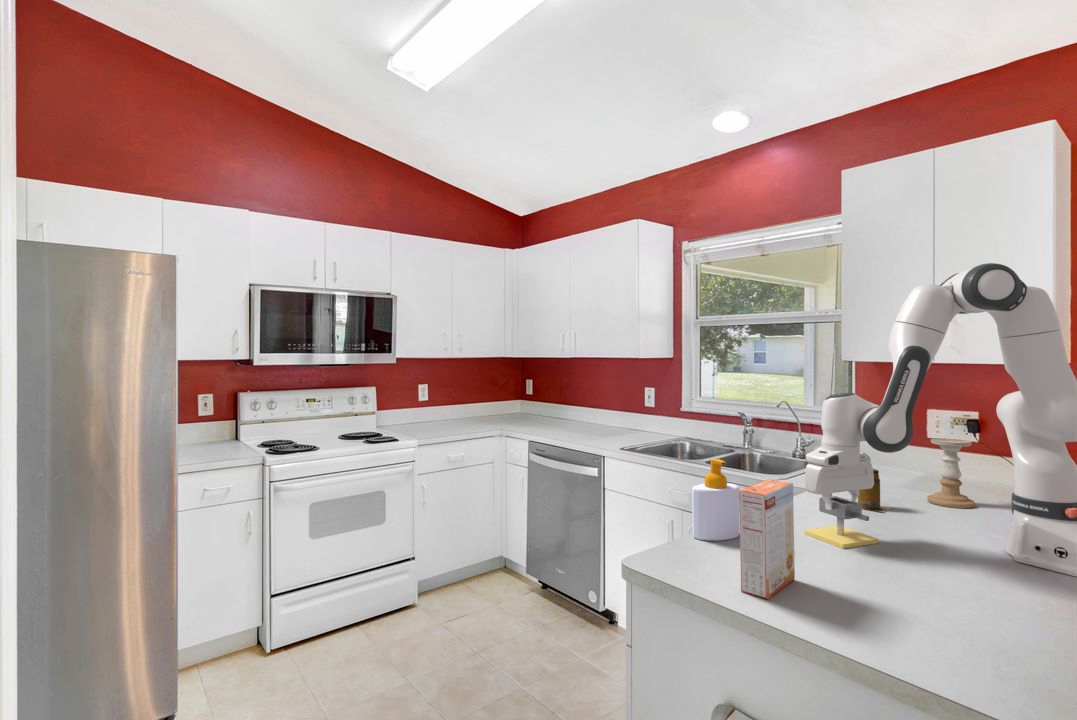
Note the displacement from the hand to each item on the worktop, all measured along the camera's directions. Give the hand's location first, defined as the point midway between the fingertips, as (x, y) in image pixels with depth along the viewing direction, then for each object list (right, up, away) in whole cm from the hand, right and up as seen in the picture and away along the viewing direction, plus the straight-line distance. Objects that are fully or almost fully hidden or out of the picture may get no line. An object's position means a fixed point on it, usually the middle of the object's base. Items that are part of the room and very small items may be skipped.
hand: (840, 508), depth 144 cm
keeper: (0, -8, 0) cm, 8 cm away
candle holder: (+53, -8, +33) cm, 63 cm away
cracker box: (-31, -9, -29) cm, 43 cm away
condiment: (+25, -8, +28) cm, 38 cm away
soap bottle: (-32, -8, +3) cm, 33 cm away
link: (+1, -2, -2) cm, 2 cm away
